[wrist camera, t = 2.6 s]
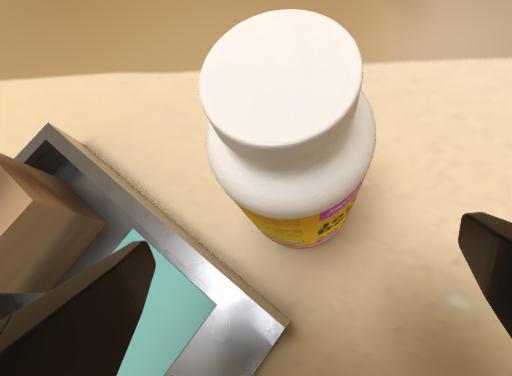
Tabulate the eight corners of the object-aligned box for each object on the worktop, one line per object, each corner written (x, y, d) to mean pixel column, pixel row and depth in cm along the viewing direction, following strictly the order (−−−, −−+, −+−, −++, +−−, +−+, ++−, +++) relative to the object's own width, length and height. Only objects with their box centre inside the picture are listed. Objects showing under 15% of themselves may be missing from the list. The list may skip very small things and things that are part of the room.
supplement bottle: (323, 268, 19) (336, 232, 7) (234, 222, 21) (122, 130, 9) (366, 177, 20) (441, 9, 8) (278, 142, 22) (233, -33, 10)
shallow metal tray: (290, 320, 18) (284, 328, 15) (161, 505, 16) (122, 560, 13) (82, 143, 25) (48, 122, 22) (-21, 257, 24) (-75, 252, 20)
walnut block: (107, 223, 21) (32, 200, 16) (48, 292, 20) (-52, 294, 15) (61, 179, 23) (-19, 145, 18) (6, 240, 22) (-96, 225, 17)
